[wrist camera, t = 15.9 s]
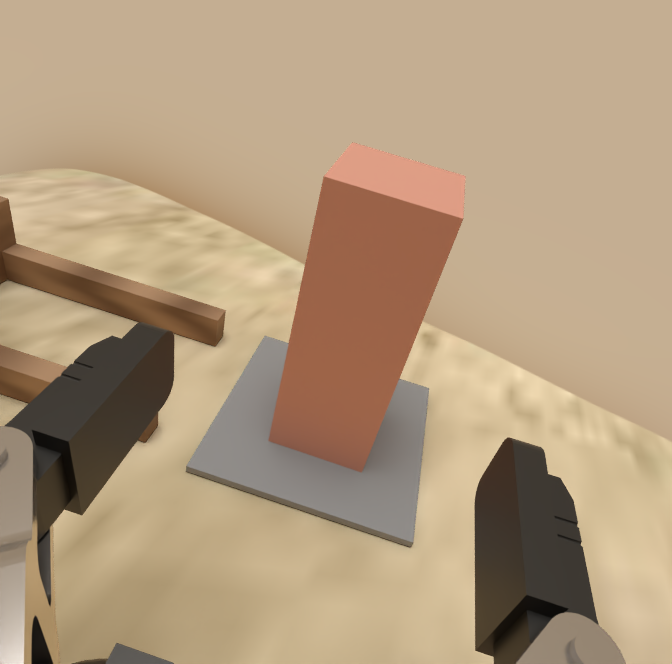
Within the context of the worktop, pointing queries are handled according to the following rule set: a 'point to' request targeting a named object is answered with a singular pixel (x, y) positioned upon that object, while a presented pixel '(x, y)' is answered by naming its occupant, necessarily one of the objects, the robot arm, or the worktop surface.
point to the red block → (363, 299)
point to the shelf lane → (94, 290)
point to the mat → (311, 472)
